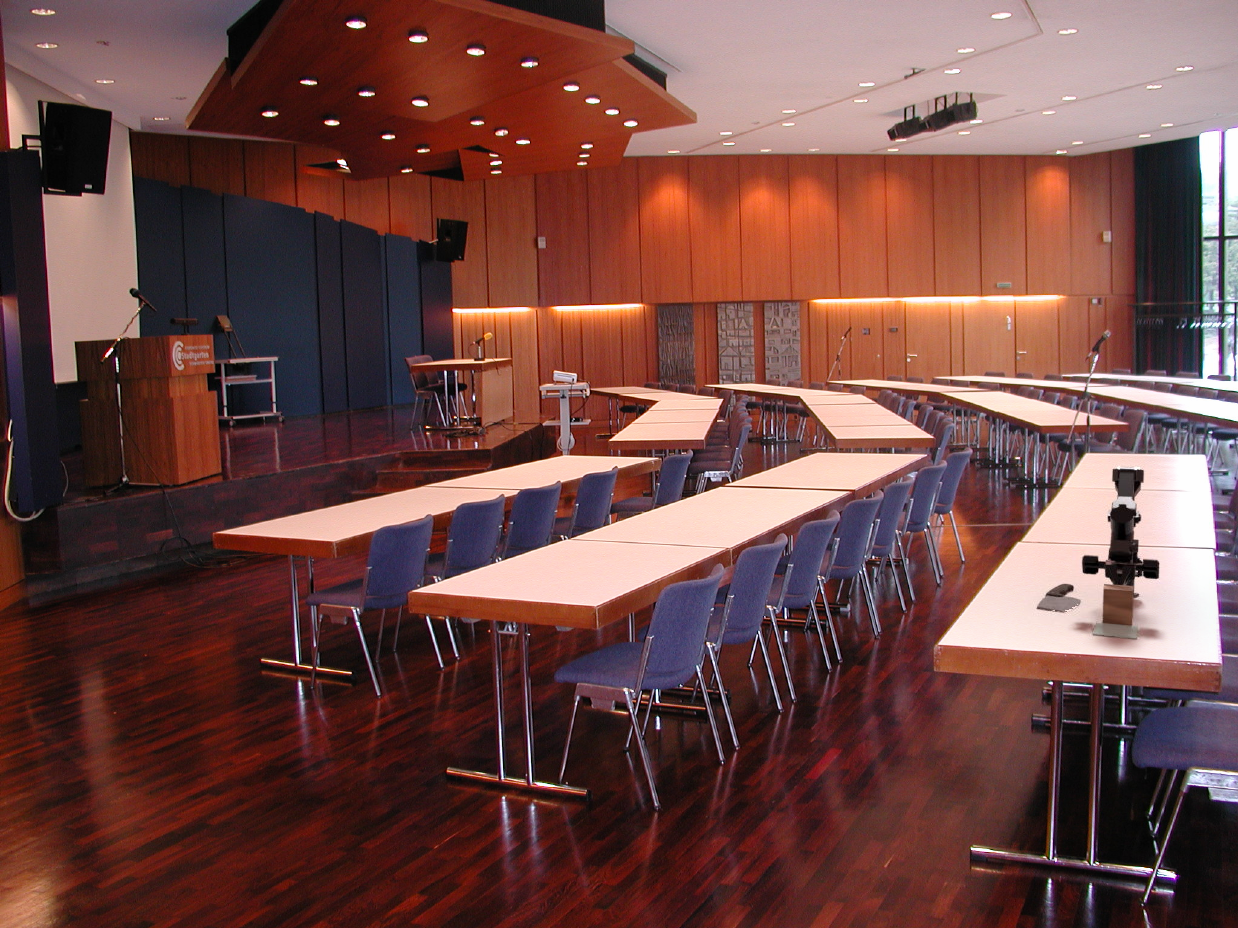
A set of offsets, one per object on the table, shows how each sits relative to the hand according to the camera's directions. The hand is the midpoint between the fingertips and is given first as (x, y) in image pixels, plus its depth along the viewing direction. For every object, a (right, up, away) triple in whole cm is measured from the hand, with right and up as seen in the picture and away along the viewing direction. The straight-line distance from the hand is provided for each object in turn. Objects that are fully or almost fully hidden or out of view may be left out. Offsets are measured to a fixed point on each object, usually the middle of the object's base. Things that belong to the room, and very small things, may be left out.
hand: (1118, 593), depth 276 cm
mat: (-5, -9, -8) cm, 13 cm away
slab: (-1, -8, -1) cm, 8 cm away
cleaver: (-4, -6, +25) cm, 26 cm away
